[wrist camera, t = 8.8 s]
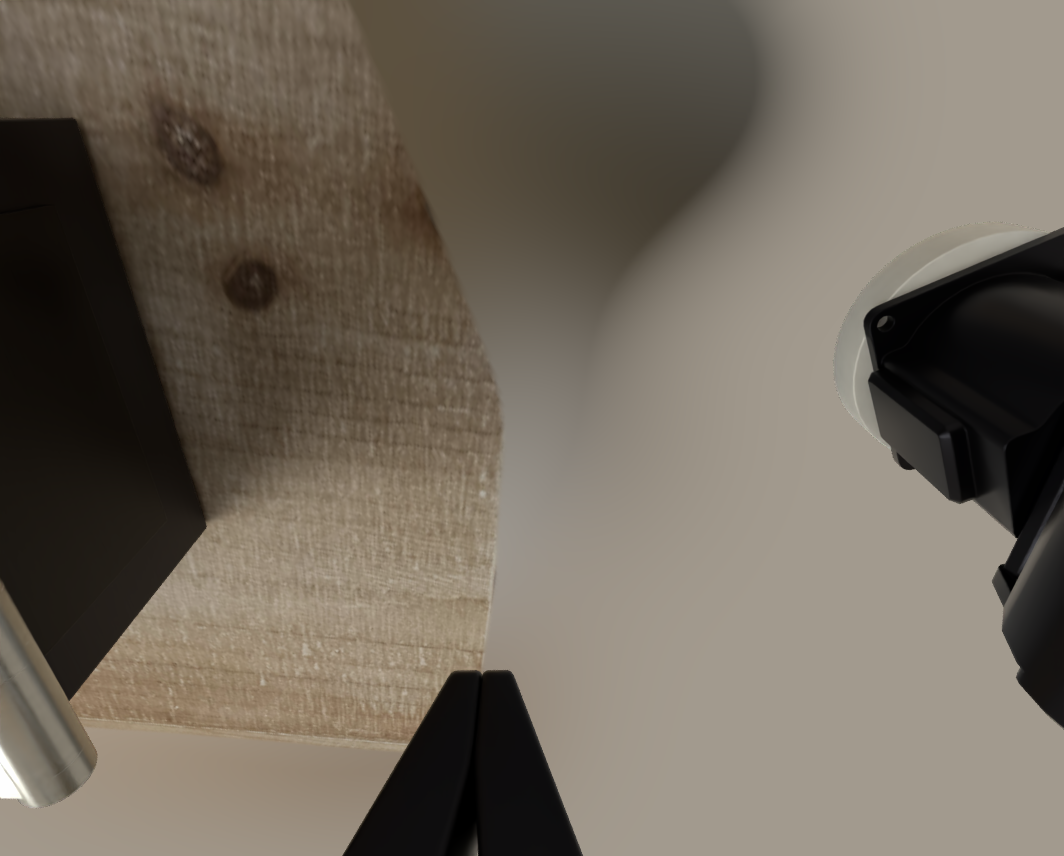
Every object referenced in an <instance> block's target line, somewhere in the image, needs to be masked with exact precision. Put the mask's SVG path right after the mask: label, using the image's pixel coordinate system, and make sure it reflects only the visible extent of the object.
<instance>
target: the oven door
mask: <svg viewBox="0 0 1064 856" xmlns="http://www.w3.org/2000/svg"><path fill="white" fill-rule="evenodd" d="M206 527H207V526H206V523H205V520H204V516H203V513H202V510H201V507H200V504H199V501H198V498H197V495H196V491H195V488H194V485H193V482H192V479H191V476H190V473H189V470H188V467H187V463H186V460H185V457H184V454H183V451H182V448H181V445H180V442H179V438H178V435H177V432H176V429H175V426H174V423H173V420H172V417H171V414H170V410H169V407H168V404H167V401H166V398H165V395H164V392H163V389H162V385H161V382H160V379H159V376H158V373H157V370H156V367H155V364H154V361H153V357H152V354H151V351H150V348H149V345H148V342H147V339H146V336H145V332H144V329H143V326H142V323H141V320H140V317H139V314H138V311H137V308H136V304H135V301H134V298H133V295H132V292H131V289H130V286H129V283H128V279H127V276H126V273H125V270H124V267H123V264H122V261H121V258H120V255H119V251H118V248H117V245H116V242H115V239H114V236H113V233H112V230H111V227H110V223H109V220H108V217H107V214H106V211H105V208H104V205H103V202H102V198H101V195H100V192H99V189H98V186H97V183H96V180H95V177H94V174H93V170H92V167H91V164H90V161H89V158H88V155H87V152H86V149H85V145H84V142H83V139H82V136H81V133H80V130H79V127H78V124H77V121H76V119H73V118H0V799H17V800H18V801H19V802H20V803H21V804H22V805H23V806H26V807H30V808H42V807H47V806H50V805H53V804H55V803H58V802H60V801H62V800H64V799H65V798H67V797H69V796H70V795H71V794H73V793H74V792H76V791H77V790H78V789H79V788H80V787H81V786H82V785H83V784H84V783H85V782H86V781H87V780H88V779H89V777H90V776H91V774H92V772H93V771H94V769H95V766H96V763H97V751H96V749H95V747H94V746H93V744H92V742H91V740H90V738H89V736H88V735H87V733H86V731H85V729H84V727H83V726H82V724H81V722H80V720H79V718H78V717H77V715H76V713H75V711H74V709H73V708H72V706H71V704H70V702H69V701H70V700H71V698H72V697H73V696H74V695H75V693H76V692H77V691H78V690H79V688H80V687H81V686H82V684H83V683H84V682H85V681H86V679H87V678H88V677H89V676H90V674H91V673H92V672H93V671H94V669H95V668H96V667H97V666H98V664H99V663H100V662H101V660H102V659H103V658H104V657H105V655H106V654H107V653H108V652H109V650H110V649H111V648H112V647H113V645H114V644H115V643H116V642H117V640H118V639H119V638H120V636H121V635H122V634H123V633H124V631H125V630H126V629H127V628H128V626H129V625H130V624H131V623H132V621H133V620H134V619H135V617H136V616H137V615H138V614H139V612H140V611H141V610H142V609H143V607H144V606H145V605H146V604H147V602H148V601H149V600H150V599H151V597H152V596H153V595H154V593H155V592H156V591H157V590H158V588H159V587H160V586H161V585H162V583H163V582H164V581H165V580H166V578H167V577H168V576H169V575H170V573H171V572H172V571H173V569H174V568H175V567H176V566H177V564H178V563H179V562H180V561H181V559H182V558H183V557H184V556H185V554H186V553H187V552H188V550H189V549H190V548H191V547H192V545H193V544H194V543H195V542H196V540H197V539H198V538H199V537H200V535H201V534H202V533H203V532H204V530H205V529H206Z"/></svg>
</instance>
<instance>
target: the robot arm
mask: <svg viewBox="0 0 1064 856" xmlns="http://www.w3.org/2000/svg"><path fill="white" fill-rule="evenodd" d="M884 316H887V321H886V323H885V324H884V325H882V326H881V327H877V326H878V322H879V320H880V319H881V318H883V317H884ZM863 327H864V331H865V336H866V340H867V345H868V349H869V354H870V358H871V362H872V367H873V372H871V374H870V376H869V379H868V385H869V389H870V393H871V398H872V402H873V406H874V411H875V415H876V419H877V423H878V428H879V432H880V436H881V438H882V439H883V440H884V441H886V442H887V443H888V444H889V445H890V446H891V451H892V455H893V458H894V460H895V462H896V463H897V464H899V466H901V467H902V468H903V469H906V470H912V469H916V470H917V471H918V472H919V473H920V474H921V475H923V476H924V477H925V478H926V479H927V480H928V481H929V482H930V483H931V484H932V485H933V486H934V487H935V488H937V489H938V490H939V491H940V492H941V493H942V494H943V495H944V496H945V497H946V498H947V499H949V500H951V501H953V502H956V503H958V504H961V503H964V502H967V501H970V500H973V501H974V502H976V503H977V504H978V505H979V506H980V507H981V508H982V509H984V510H985V511H986V512H987V513H988V514H989V515H990V516H992V517H993V518H994V519H995V520H996V521H997V522H998V523H1000V524H1001V525H1002V526H1003V527H1004V528H1005V529H1006V530H1008V531H1009V532H1010V533H1011V534H1012V535H1013V536H1015V537H1016V538H1018V539H1017V541H1016V543H1015V545H1014V547H1013V549H1012V551H1011V553H1010V555H1009V557H1008V559H1007V561H1006V563H1005V564H1002V565H1000V566H999V567H998V570H997V571H996V573H995V575H994V577H993V580H992V583H993V585H994V587H995V590H996V592H997V594H998V596H999V598H1000V600H1001V603H1002V605H1003V607H1004V610H1003V624H1002V632H1003V634H1004V636H1005V638H1006V640H1007V643H1008V645H1009V647H1010V649H1011V651H1012V654H1013V656H1014V658H1015V660H1016V662H1017V663H1018V665H1019V666H1020V669H1019V671H1018V673H1017V676H1016V678H1017V680H1018V682H1019V684H1020V685H1021V686H1022V687H1023V688H1024V690H1025V691H1026V692H1027V693H1028V694H1029V695H1030V696H1031V697H1032V699H1033V700H1034V701H1035V702H1036V703H1037V704H1038V705H1039V706H1040V708H1041V709H1042V710H1043V711H1044V712H1045V713H1046V714H1047V715H1048V716H1049V717H1050V718H1051V719H1052V720H1053V721H1054V722H1056V723H1057V724H1058V725H1059V726H1060V727H1062V728H1063V729H1064V227H1063V228H1061V229H1058V230H1056V231H1053V232H1051V233H1049V234H1046V235H1044V236H1042V237H1039V238H1037V239H1034V240H1032V241H1030V242H1027V243H1025V244H1023V245H1020V246H1018V247H1015V248H1013V249H1011V250H1008V251H1006V252H1004V253H1001V254H999V255H996V256H994V257H992V258H989V259H987V260H985V261H982V262H980V263H977V264H975V265H973V266H970V267H968V268H966V269H963V270H961V271H958V272H956V273H954V274H951V275H949V276H946V277H944V278H942V279H939V280H937V281H935V282H932V283H930V284H927V285H925V286H923V287H920V288H918V289H916V290H913V291H911V292H908V293H906V294H904V295H901V296H899V297H897V298H894V299H892V300H889V301H887V302H885V303H882V304H880V305H878V306H875V307H874V308H872V309H871V310H870V311H869V312H868V313H867V314H866V316H865V318H864V320H863ZM477 852H478V856H583V855H582V852H581V849H580V847H579V844H578V842H577V839H576V836H575V834H574V831H573V828H572V826H571V824H570V821H569V818H568V815H567V813H566V810H565V808H564V805H563V803H562V800H561V797H560V795H559V792H558V789H557V787H556V784H555V782H554V779H553V777H552V774H551V771H550V769H549V766H548V763H547V761H546V758H545V756H544V753H543V750H542V748H541V745H540V743H539V740H538V737H537V735H536V732H535V729H534V727H533V724H532V722H531V719H530V717H529V714H528V711H527V709H526V706H525V703H524V701H523V699H522V696H521V693H520V690H519V688H518V686H517V683H516V680H515V678H514V675H513V674H512V672H511V671H508V670H487V671H485V672H484V673H483V674H481V672H479V671H477V670H461V671H454V672H452V673H451V674H450V676H449V677H448V678H447V680H446V682H445V684H444V685H443V687H442V689H441V690H440V692H439V694H438V695H437V697H436V699H435V700H434V702H433V704H432V705H431V707H430V709H429V711H428V712H427V714H426V716H425V717H424V719H423V721H422V722H421V724H420V726H419V727H418V729H417V731H416V732H415V734H414V736H413V737H412V739H411V741H410V743H409V744H408V746H407V748H406V749H405V751H404V753H403V754H402V756H401V758H400V760H399V761H398V763H397V764H396V766H395V768H394V770H393V771H392V773H391V775H390V777H389V778H388V780H387V781H386V783H385V785H384V787H383V788H382V790H381V791H380V793H379V795H378V797H377V798H376V800H375V802H374V804H373V805H372V807H371V808H370V810H369V812H368V814H367V815H366V817H365V819H364V820H363V822H362V824H361V825H360V827H359V829H358V830H357V832H356V834H355V835H354V837H353V839H352V840H351V842H350V844H349V845H348V847H347V849H346V850H345V852H344V854H343V856H477Z"/></svg>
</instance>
